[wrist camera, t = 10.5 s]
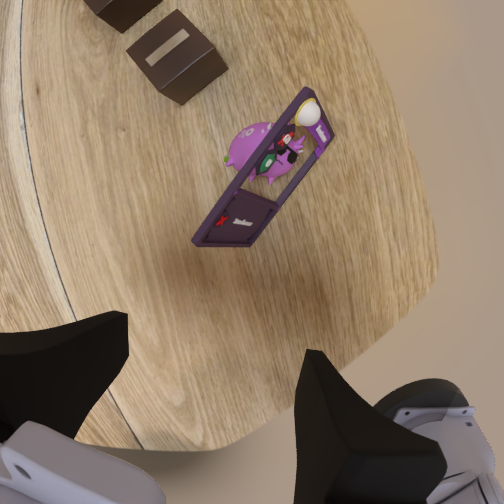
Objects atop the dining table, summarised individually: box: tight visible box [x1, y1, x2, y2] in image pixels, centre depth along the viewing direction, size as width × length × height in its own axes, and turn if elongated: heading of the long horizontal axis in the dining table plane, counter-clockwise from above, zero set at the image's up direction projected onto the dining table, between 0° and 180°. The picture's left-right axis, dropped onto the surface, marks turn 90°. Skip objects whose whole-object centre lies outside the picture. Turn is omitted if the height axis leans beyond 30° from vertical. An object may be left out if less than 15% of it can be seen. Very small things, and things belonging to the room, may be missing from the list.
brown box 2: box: [126, 9, 228, 105], centre depth 17 cm, size 4×4×4 cm
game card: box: [191, 86, 335, 247], centre depth 18 cm, size 7×5×9 cm
